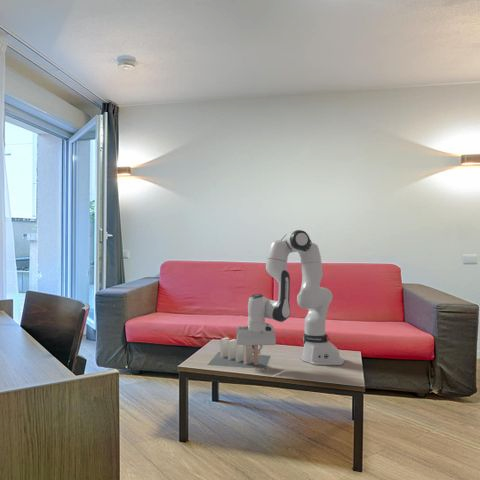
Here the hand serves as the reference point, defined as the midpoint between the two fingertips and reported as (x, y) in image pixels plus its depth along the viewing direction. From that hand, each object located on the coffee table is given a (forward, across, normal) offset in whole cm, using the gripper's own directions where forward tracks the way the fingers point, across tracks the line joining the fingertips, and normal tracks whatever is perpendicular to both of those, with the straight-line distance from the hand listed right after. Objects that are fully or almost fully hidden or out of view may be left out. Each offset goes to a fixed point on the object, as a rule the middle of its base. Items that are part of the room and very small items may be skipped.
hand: (255, 353), depth 195 cm
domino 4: (+6, -4, +3) cm, 8 cm away
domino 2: (+6, -12, +11) cm, 17 cm away
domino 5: (+5, 0, 0) cm, 5 cm away
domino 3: (+6, -8, +7) cm, 12 cm away
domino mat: (+7, -8, +9) cm, 13 cm away
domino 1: (+6, -16, +15) cm, 22 cm away
